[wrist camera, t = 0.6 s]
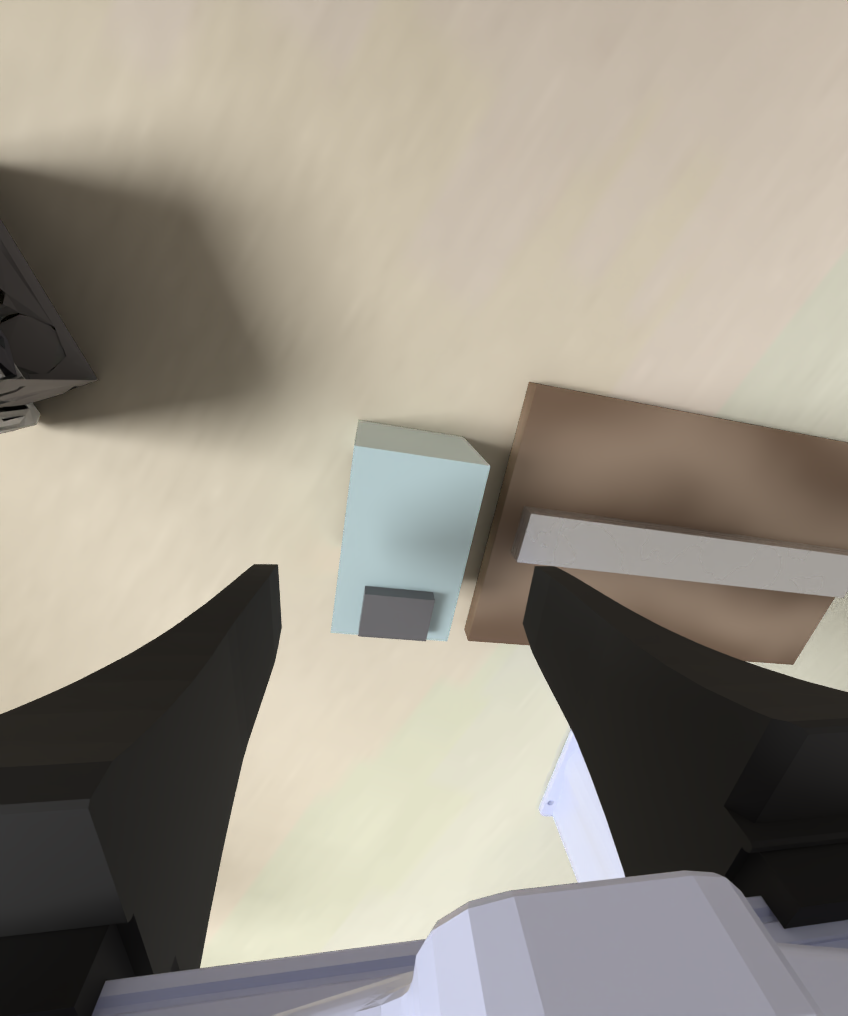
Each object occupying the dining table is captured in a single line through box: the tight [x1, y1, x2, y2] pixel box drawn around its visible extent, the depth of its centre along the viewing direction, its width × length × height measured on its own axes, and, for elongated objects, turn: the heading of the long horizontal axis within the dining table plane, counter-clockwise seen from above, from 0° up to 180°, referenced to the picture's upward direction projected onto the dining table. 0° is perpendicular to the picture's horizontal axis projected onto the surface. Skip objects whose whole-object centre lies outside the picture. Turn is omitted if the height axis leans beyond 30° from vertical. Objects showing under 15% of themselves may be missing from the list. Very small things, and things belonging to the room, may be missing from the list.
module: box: [331, 420, 490, 641], centre depth 18 cm, size 8×5×6 cm, turn 169°
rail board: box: [465, 382, 848, 665], centre depth 23 cm, size 14×22×2 cm, turn 79°
